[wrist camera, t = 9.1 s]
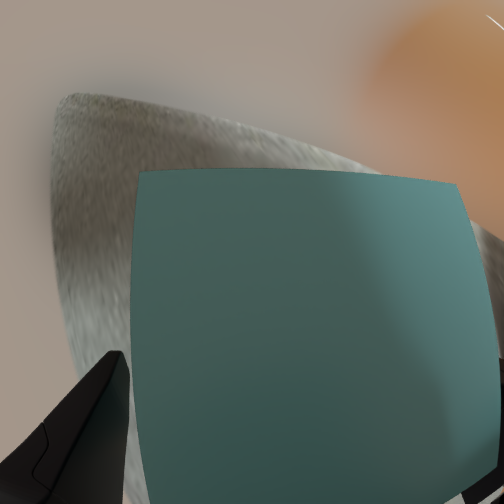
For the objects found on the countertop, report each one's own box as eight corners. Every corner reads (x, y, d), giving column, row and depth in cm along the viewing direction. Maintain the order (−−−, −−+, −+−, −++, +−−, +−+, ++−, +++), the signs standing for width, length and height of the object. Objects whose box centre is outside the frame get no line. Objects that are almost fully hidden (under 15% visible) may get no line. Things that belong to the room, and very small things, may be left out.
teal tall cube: (309, 410, 15) (496, 466, 3) (198, 422, 14) (168, 569, 2) (298, 306, 17) (455, 184, 5) (190, 313, 16) (139, 171, 4)
